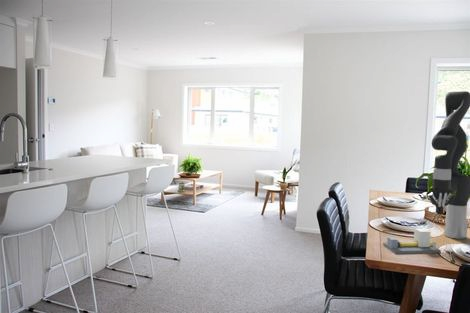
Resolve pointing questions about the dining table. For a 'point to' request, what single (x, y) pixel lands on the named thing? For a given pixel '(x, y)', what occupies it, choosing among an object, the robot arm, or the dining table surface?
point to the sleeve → (422, 237)
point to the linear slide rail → (409, 247)
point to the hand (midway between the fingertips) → (439, 214)
